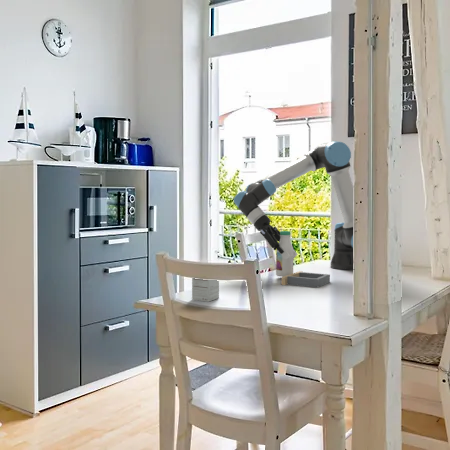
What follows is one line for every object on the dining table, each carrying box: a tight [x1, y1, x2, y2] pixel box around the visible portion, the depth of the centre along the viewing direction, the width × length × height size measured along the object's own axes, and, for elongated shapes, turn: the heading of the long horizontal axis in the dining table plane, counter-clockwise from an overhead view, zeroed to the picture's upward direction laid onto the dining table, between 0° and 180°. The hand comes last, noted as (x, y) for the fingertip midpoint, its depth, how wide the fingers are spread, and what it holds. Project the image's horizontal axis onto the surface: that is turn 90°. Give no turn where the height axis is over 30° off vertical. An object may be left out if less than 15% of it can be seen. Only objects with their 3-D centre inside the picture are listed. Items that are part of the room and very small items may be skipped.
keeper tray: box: [280, 270, 331, 288], centre depth 238 cm, size 20×15×3 cm
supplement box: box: [191, 277, 220, 303], centre depth 201 cm, size 7×7×13 cm
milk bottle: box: [275, 230, 294, 278], centre depth 249 cm, size 8×8×20 cm
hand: (291, 257), depth 247 cm, fingers closed on milk bottle, 7 cm apart
